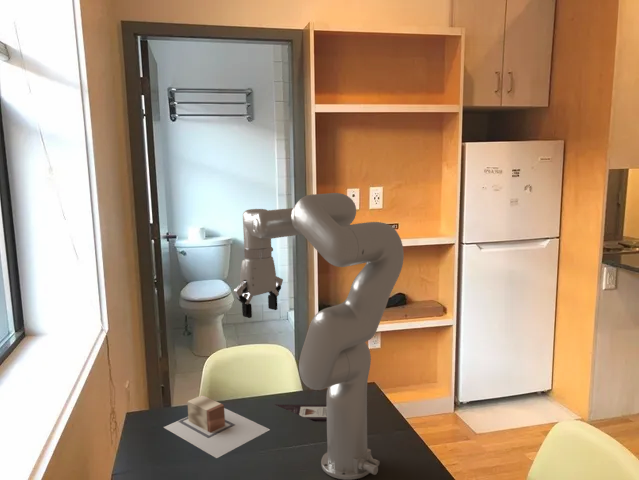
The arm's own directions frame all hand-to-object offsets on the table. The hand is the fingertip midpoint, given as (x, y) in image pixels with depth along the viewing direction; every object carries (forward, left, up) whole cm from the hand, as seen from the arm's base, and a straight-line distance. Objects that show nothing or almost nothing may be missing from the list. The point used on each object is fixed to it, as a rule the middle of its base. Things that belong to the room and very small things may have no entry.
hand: (260, 313), depth 148 cm
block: (+7, +15, -30) cm, 34 cm away
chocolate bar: (-8, -7, -31) cm, 33 cm away
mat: (+3, +15, -30) cm, 34 cm away
